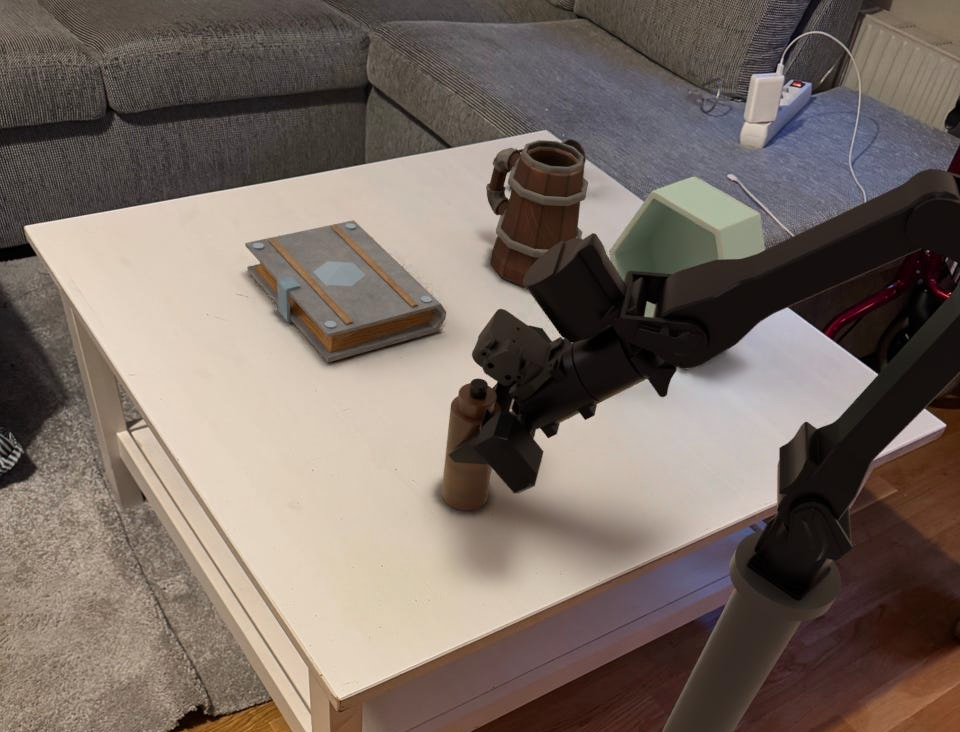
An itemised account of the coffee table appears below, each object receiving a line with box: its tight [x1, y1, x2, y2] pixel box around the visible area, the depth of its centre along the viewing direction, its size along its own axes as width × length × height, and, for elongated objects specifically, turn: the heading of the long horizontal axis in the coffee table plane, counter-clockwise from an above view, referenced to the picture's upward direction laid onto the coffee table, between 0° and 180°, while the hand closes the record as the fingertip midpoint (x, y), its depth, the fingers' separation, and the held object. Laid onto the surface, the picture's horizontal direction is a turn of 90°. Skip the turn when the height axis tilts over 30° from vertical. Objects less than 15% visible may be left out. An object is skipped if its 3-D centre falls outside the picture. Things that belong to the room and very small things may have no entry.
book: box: [244, 219, 447, 363], centre depth 112 cm, size 21×16×5 cm
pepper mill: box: [441, 378, 501, 511], centre depth 89 cm, size 5×5×14 cm
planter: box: [609, 175, 766, 317], centre depth 111 cm, size 17×8×21 cm
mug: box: [485, 139, 589, 288], centre depth 120 cm, size 16×12×15 cm
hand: (457, 441), depth 90 cm, fingers closed on pepper mill, 5 cm apart
